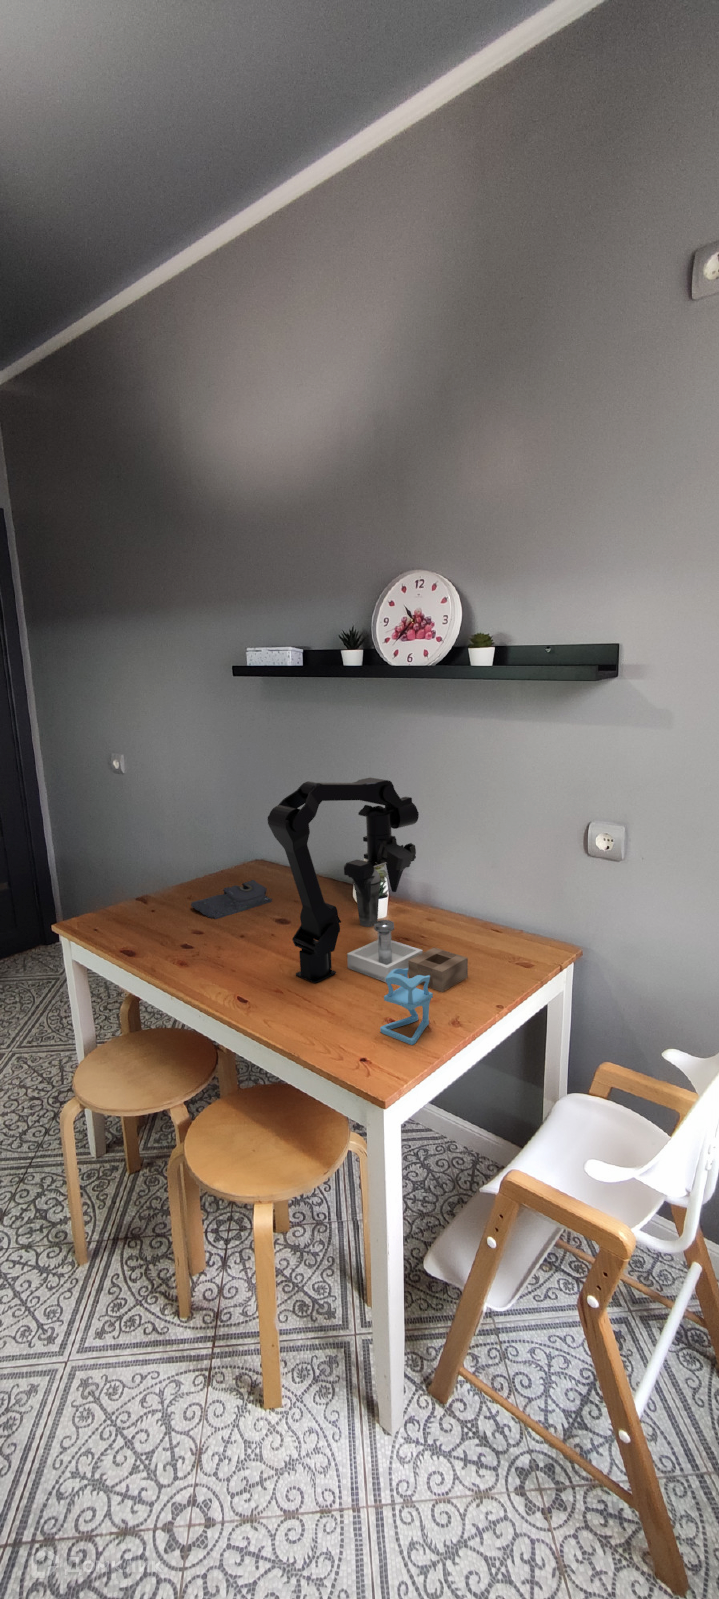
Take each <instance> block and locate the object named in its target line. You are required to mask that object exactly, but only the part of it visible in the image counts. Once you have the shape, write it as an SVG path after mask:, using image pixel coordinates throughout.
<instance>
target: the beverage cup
mask: <svg viewBox="0 0 719 1599" xmlns="http://www.w3.org/2000/svg"><path fill="white" fill-rule="evenodd" d="M367 861H368V859H366V862H367ZM372 876H375V877H374V879H373V880H372V881H371V898H370V902H369V903H368V902H366V901H365V899H364V898H363V896H362V894H361V892H360V890H359V888H358V886H357V885H356V883H355V882H354V880H353V879H352V880H353V881H352V883H353V887H354V891H355V897H356V904H357V912H358V919H359V920H358V921H359V925H360V926H361V927H367V928H368V927H374V923H375V922H376V921H378V918H379V904H380V901H379V900H380V899H379V898H380V889H381V883H382V878H381V875H380V873H379V871H378V870H377V869H376V868H374V873H373V875H372Z"/></svg>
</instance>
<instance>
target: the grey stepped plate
mask: <svg viewBox="0 0 719 1599" xmlns="http://www.w3.org/2000/svg"><path fill="white" fill-rule="evenodd" d="M267 890H268V889H267V887H265V886H264V885H262V884H260V883H258V882H257V881H256V880H255V879H251V880H249V881H245V882H242V883H241V885H235V884H234V885H232V886H231V887H229V886H228V887H227V886H226V887H224V888H223V890H222V892H223V894H216V895H212V896H210V897H206V898H203V899H198V900H195V901H192V902H191V903H190V906H191V908H193V909H195V910H196V911H197V912H200V913H201V914H202V915H204V916H206V917H208V918H209V919H215V920H218V919H223V918H225V917H227V916H231V915H234V914H238V913H241V912H244V911H247V910H250V909H254V908H256V907H260V906H263V905H267V904H269V903H272V902H273V898H270V897H268V895H266V894H267Z"/></svg>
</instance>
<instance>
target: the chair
mask: <svg viewBox="0 0 719 1599" xmlns="http://www.w3.org/2000/svg"><path fill="white" fill-rule="evenodd" d="M400 974H404V975H403V976H402V975H400ZM385 980H386V982H385V983H386V985H387V988H388V993H387V994H385V995H384V996H383V1001H385V1002H387V1003H391V1004H395V1005H398V1006H401V1007H402V1008H403V1009H406V1010H408V1012H409V1015H410V1016H408V1017H405V1018H402V1019H399V1020H398V1019H397V1020H396V1021H393V1022H390V1023H387V1024H384V1025H382V1026H380V1028H379V1029H380V1033H382V1035H383V1034H384V1035H385V1036H388V1037H391V1038H392V1039H396V1040H398V1041H401V1042H403V1043H406V1044H408V1045H411V1046H414V1045H415V1044H416V1042H418V1040H419V1038H420V1037H421V1035H422V1034H423V1032H424V1031H425V1029H426V1028H427V1027H428V1026H429V1024H430V1016H429V1014H430V1003H431V1000H432V998H434V997H433V996H434V993H433V992H431V991H430V990H429V987H428V983H429V980H430V975H428V976H422V975H417V976H415V977H413V978H409V972H408V968H406V969H393V970H392V971H391V972H390V973H389V974H388V975H387V977H386V978H385ZM423 981H426V982H425V984H424V985H423V988H422V989H421V988H418V987H417V986H419V985H421V984H420V983H421V982H423ZM392 985H396V986H399V987H398V988H396V989H395V990H394V988H393V986H392ZM418 1007H422V1018H421V1021H420V1022H419V1025H418V1026H417V1028H416V1030H415V1032H414V1033H413V1035H412V1037H408V1036H406V1035H404V1034H401V1033H399V1032H396V1031H395V1030H392V1029H396V1028H400V1027H403V1026H406V1025H409V1024H413V1023H415V1022H417V1021H418V1020H419V1014H418V1013H417V1011H416V1008H418Z"/></svg>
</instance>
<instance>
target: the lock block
mask: <svg viewBox="0 0 719 1599" xmlns="http://www.w3.org/2000/svg"><path fill="white" fill-rule="evenodd" d="M468 960H469V959H468V957H467V956H464V955H460V954H458V953H457V954H456V953H453V952H450V951H447V950H444V949H441V948H438V947H432V948H429V949H428V950H426V951H423V953H422V954H420V955H418V956H416V957H414V958H412V959H410V960H408V966H409V972H408V978H413V977H415V976H417V975H422V976H428V975H430V980H429V983H428V988H430V989H433V990H434V991H438V992H440V993H443V992H445V991H446V990H448V989H451V988H452V987H454V986H456V985H457V984H459V983H460V982H462V981H464V980H466V979H467V978H468V977H469V975H468V974H469V973H468V972H469V971H468V970H469V969H468V967H469V966H468V963H469V961H468ZM425 982H426V981H423V982H421V983H420V984H419V985H422V986H424V984H425Z"/></svg>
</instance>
